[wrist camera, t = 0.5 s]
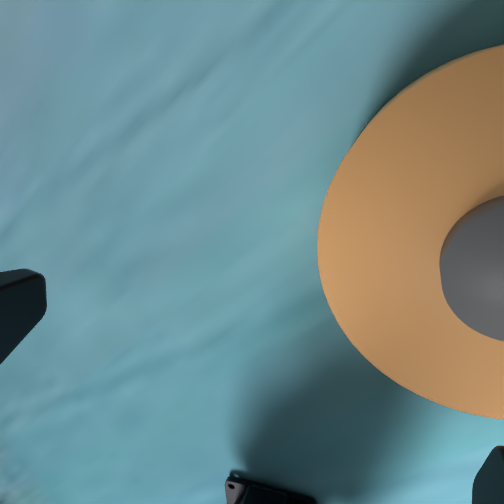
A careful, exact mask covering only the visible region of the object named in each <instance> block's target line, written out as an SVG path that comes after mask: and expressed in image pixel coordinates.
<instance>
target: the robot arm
mask: <svg viewBox="0 0 504 504" xmlns="http://www.w3.org/2000/svg"><path fill="white" fill-rule="evenodd" d="M46 308H47V299H46V281H45V278H44V276H43V275H42V274H40V273H37V272H35V271H32V270H29V269H17V270H11V271H5V272H0V364H1V363H2V362H3V361H4V360H5V359H6V358H7V356H8V355H9V354H10V353H11V352H12V351H13V350H14V349H15V348H16V346H17V345H18V344H19V343H20V342H21V341H22V340H23V339H24V338H25V337H26V335H27V334H28V333H29V332H30V331H31V330H32V329H33V328H34V327H35V325H36V324H37V323H38V322H39V321H40V320H41V319H42V317H43V316H44V314H45V312H46ZM225 490H226V498H227V504H317V502H316V501H315V500H314V499H313V498H311V497H307V496H304V495H300V494H296V493H292V492H289V491H285V490H281V489H277V488H274V487H270V486H266V485H262V484H259V483H255V482H251V481H247V480H244V479H240V478H236V477H231V476H230V477H228V478H227V480H226V482H225ZM472 504H504V446H496V447H495V448H494V449H493V450H492V451H491V453H490V454H489V456H488V457H487V459H486V461H485V462H484V464H483V465H482V467H481V468H480V470H479V472H478V473H477V475H476V477H475V479H474V483H473V489H472Z"/></svg>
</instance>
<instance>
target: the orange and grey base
mask: <svg viewBox="0 0 504 504" xmlns="http://www.w3.org/2000/svg"><path fill="white" fill-rule="evenodd" d="M317 254H318V268H319V273H320V277H321V282H322V287H323V290H324V293H325V296H326V298H327V301H328V304H329V307H330V309H331V311H332V312H333V314H334V316H335V318H336V320H337V322H338V324H339V326H340V327H341V329H342V330H343V331H344V333H345V334H346V336H347V337H348V339H349V340H350V341H351V343H352V344H353V345H354V346H355V347H356V348H357V349H358V350H359V352H360V353H361V354H362V355H363V356H364V357H365V358H366V359H367V360H368V361H369V362H371V363H372V364H373V365H374V366H375V367H376V368H377V369H378V370H380V371H381V372H382V373H384V374H385V375H386V376H388V377H389V378H391V379H392V380H393V381H395V382H396V383H398V384H399V385H401V386H403V387H405V388H407V389H408V390H410V391H412V392H414V393H415V394H417V395H419V396H422V397H424V398H426V399H428V400H431V401H433V402H435V403H438V404H440V405H443V406H446V407H449V408H452V409H455V410H459V411H462V412H466V413H470V414H474V415H479V416H483V417H488V418H496V419H503V420H504V44H501V45H497V46H493V47H490V48H486V49H482V50H478V51H474V52H472V53H469V54H466V55H464V56H461V57H459V58H456V59H453V60H451V61H448V62H446V63H445V64H443V65H441V66H439V67H437V68H435V69H433V70H431V71H429V72H427V73H425V74H424V75H422V76H421V77H419V78H418V79H417V80H415V81H414V82H412V83H411V84H409V85H408V86H406V87H405V88H403V89H402V90H401V91H400V92H399V93H398V94H396V95H395V96H394V97H393V98H392V99H391V100H390V101H388V102H387V103H386V104H385V105H384V106H383V107H382V108H381V109H380V111H379V112H378V113H377V114H376V115H375V116H374V117H373V118H372V119H371V120H370V122H369V123H368V124H367V126H366V127H365V129H364V130H363V131H362V133H361V134H360V136H359V137H358V139H357V140H356V141H355V143H354V144H353V146H352V147H351V149H350V150H349V151H348V153H347V154H346V156H345V157H344V159H343V160H342V162H341V164H340V166H339V168H338V170H337V172H336V174H335V176H334V177H333V179H332V181H331V184H330V187H329V189H328V192H327V195H326V198H325V200H324V203H323V207H322V212H321V217H320V221H319V227H318V241H317Z"/></svg>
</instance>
